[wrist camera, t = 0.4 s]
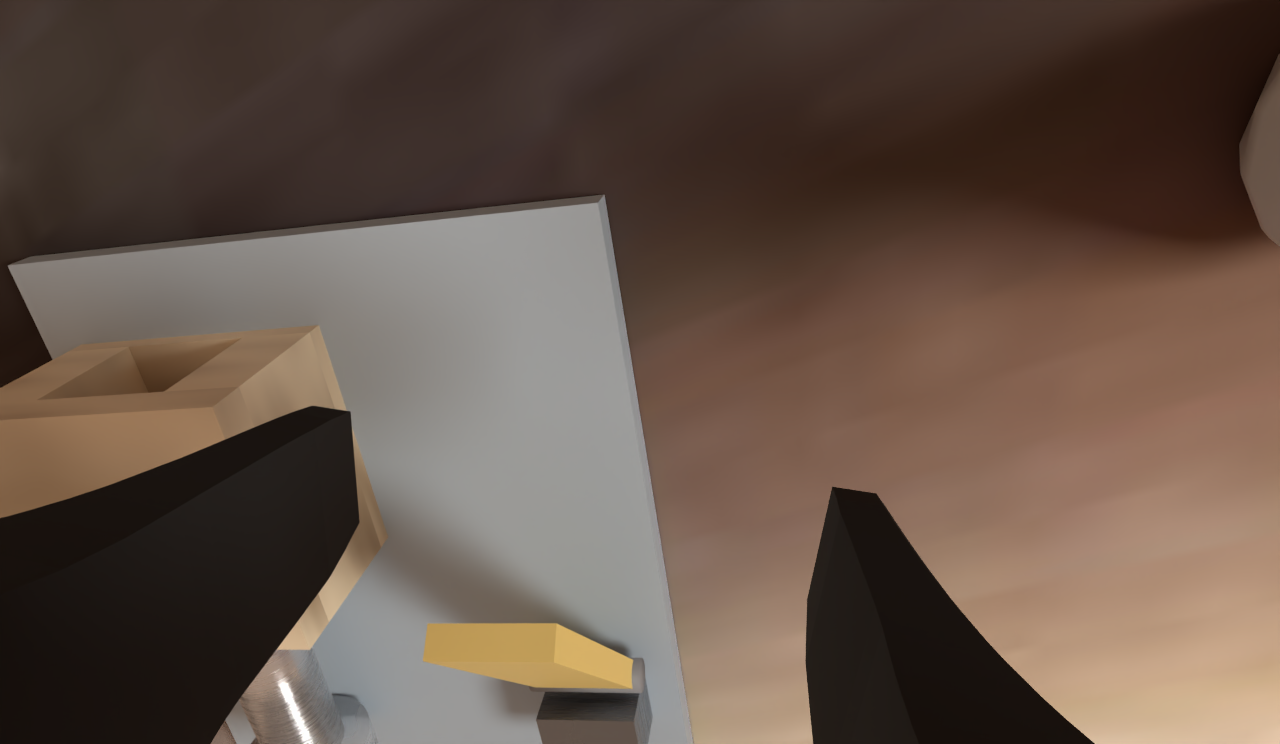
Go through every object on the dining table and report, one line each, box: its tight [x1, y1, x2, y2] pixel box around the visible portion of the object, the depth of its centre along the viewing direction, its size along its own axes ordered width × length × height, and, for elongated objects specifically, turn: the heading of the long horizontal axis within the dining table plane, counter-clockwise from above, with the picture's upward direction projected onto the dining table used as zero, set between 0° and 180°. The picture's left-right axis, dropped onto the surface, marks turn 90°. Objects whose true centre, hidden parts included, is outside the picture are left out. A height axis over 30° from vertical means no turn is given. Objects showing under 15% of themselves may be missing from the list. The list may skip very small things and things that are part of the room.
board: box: [7, 195, 693, 744], centre depth 26 cm, size 21×17×1 cm
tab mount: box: [536, 678, 653, 744], centre depth 26 cm, size 2×3×2 cm, turn 98°
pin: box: [239, 647, 379, 744], centre depth 25 cm, size 12×4×4 cm, turn 8°
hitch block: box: [0, 325, 388, 650], centre depth 23 cm, size 7×8×5 cm
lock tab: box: [423, 623, 645, 693], centre depth 22 cm, size 8×3×1 cm
